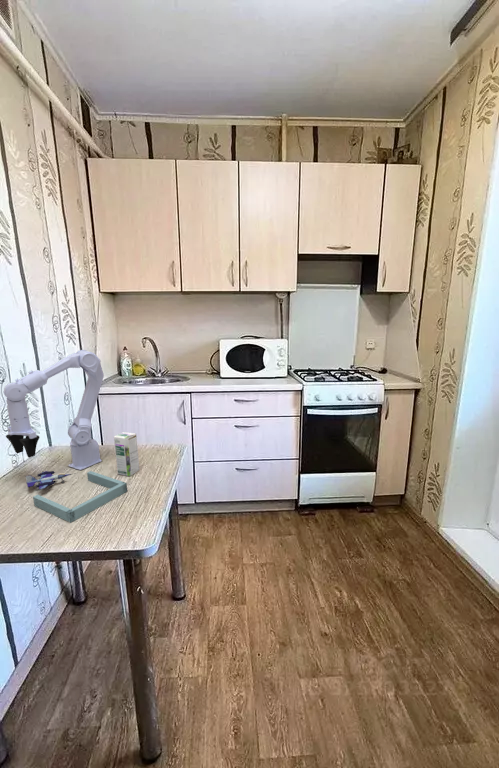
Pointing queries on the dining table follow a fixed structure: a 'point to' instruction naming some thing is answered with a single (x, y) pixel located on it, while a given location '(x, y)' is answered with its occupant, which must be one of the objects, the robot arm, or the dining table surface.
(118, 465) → the syrup box
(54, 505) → the bay
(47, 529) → the dining table surface
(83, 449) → the robot arm
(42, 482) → the toy airplane
